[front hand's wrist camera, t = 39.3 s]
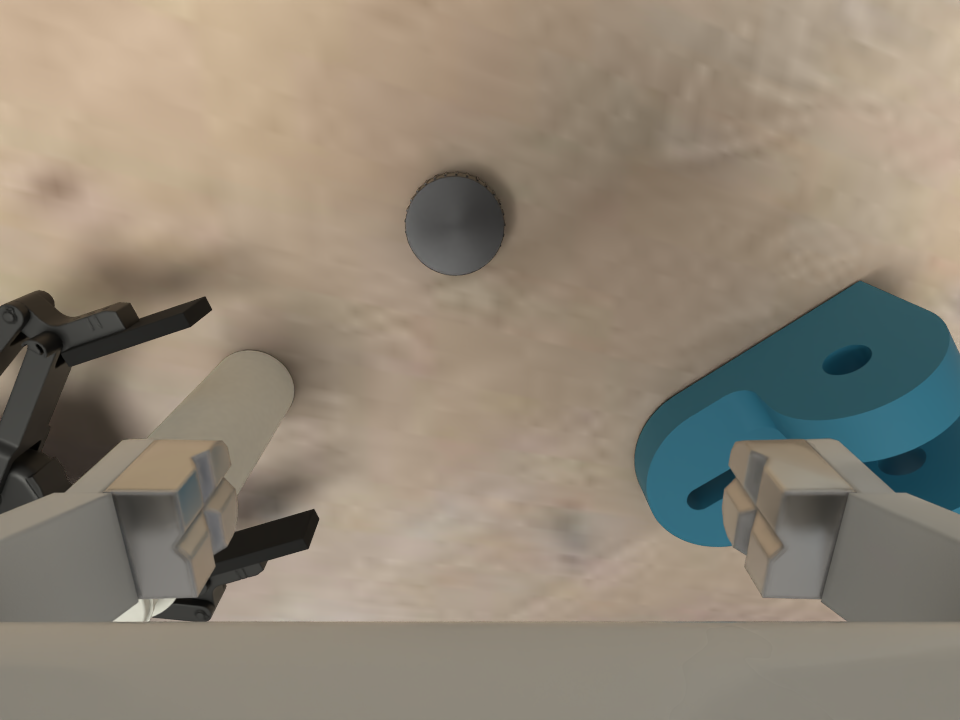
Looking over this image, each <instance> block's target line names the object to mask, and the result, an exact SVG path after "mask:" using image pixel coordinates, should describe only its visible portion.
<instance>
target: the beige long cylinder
mask: <svg viewBox="0 0 960 720" xmlns="http://www.w3.org/2000/svg"><path fill="white" fill-rule="evenodd" d="M293 399H294V384H293V380H292V378H291V375H290V374H289V372H288V370H287V369H286V368H285V366H284V365H283V364H282V363H281V362H279V361H278V360H277V359H275V358H274V357H272V356H270V355H268V354H266V353H263V352H259V351H252V350H245V351H239V352H235V353H233V354H231V355H229V356H227V357H226V358H225V359H224V360H222V361H221V362H220V364H219V365H218V366H217V367H216V368H215V369H214V370H213V371H212V372H211V373H210V374H209V375H208V376H207V377H206V378H205V379H204V380H203V381H202V382H201V383H200V384H199V385H198V386H197V387H196V388H195V389H194V390H193V391H192V392H191V393H190V394H189V395H188V396H187V397H186V398H185V399H184V401H183V402H182V403H181V404H180V405H179V406H178V407H177V408H176V409H175V410H174V411H173V412H172V413H171V414H170V415H169V416H168V417H167V418H166V419H165V420H164V421H163V422H162V423H161V424H160V425H159V426H158V427H157V428H156V429H155V430H154V431H153V432H152V433H151V434H150V435H149V436H148V438H147V439H153V438H157V439H182V440H222V441H223V442H224V443H225V444H226V445H227V446H228V450H229V454H230V459H231V464H232V465H231V467H230V469H229V470H228V472H227V473H226V475H225V476H224V477H225V478H226V480H227V481H228V482H229V483H230V484H231V485H232V486H233V487H234V488H235V489H236V494H237V495H238V494H239V492H240V490H241V489H242V487H243V485H244V484H245V482H246V480H247V479H248V477H249V475H250V473H251V472H252V470H253V468H254V467H255V465H256V463H257V462H258V460H259V458H260V457H261V455H262V453H263V452H264V450H265V448H266V447H267V445H268V443H269V442H270V440H271V438H272V437H273V435H274V433H275V431H276V430H277V428H278V426H279V425H280V423H281V421H282V420H283V418H284V416H285V415H286V413H287V411H288V410H289V408H290V406H291V404H292V402H293ZM175 599H176V598H165V599H138V600H139V602H138V603H137V604H136V605H134V606H133V607H132V608H130V609H129V610H127V611H126V612H125V613H123V614H122V615H121V616H119V617H118V618H117V619H115V620H114V621H113V622H149V621H150V619H151V617H153V616H156V615H157V614H159V613H161V612H163V611H164V610H166V609H167V608H168V607H169V606H170V605H171V604H172V603H173V602H174V601H175Z"/></svg>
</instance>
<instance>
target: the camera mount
mask: <svg viewBox="0 0 960 720" xmlns="http://www.w3.org/2000/svg"><path fill="white" fill-rule="evenodd" d="M825 438H831V439H834V440H838V441H839V442H840V443H841V444H843V445H844V446H845V447H846V448H847V449H848V450H849V451H850V452H851V453H852V454H854V455H855V456H856V457H857V458H858V459H859V460H860V461H861V462H862V463H863V464H865V465H866V466H867V467H868V468H869V469H870V470H871V471H872V472H873V473H874V474H876V475H877V476H878V477H879V478H880V479H881V480H882V481H883V482H884V483H885V484H887V485H888V486H889V487H890V488H891V489H892V490H893V491H894V492H895V493H908V494H910V495H913V496H915V497H918V498H920V499H923V500H925V501H928V502H930V503H933V504H935V505H938V506H940V507H943V508H945V509H948V510H950V511H953V512H955V513H958V514H960V353H959V351H958V349H957V347H956V345H955V343H954V341H953V338H952V336H951V334H950V332H949V330H948V328H947V326H946V324H945V323H944V321H943V320H942V319H941V318H940V317H938V316H937V315H936V314H934V313H932V312H930V311H928V310H926V309H924V308H921V307H919V306H917V305H914V304H912V303H910V302H908V301H905V300H903V299H901V298H899V297H896V296H894V295H892V294H889V293H887V292H885V291H883V290H880V289H878V288H876V287H873V286H871V285H869V284H867V283H864V282H862V281H859V282H857V283H855V284H854V285H852V286H851V287H849V288H847V289H846V290H844V291H843V292H841V293H839V294H838V295H836V296H834V297H833V298H831V299H830V300H828V301H826V302H825V303H823V304H822V305H820V306H818V307H817V308H815V309H814V310H812V311H810V312H809V313H807V314H805V315H804V316H802V317H801V318H799V319H797V320H796V321H794V322H793V323H791V324H789V325H788V326H786V327H785V328H783V329H781V330H780V331H778V332H776V333H775V334H773V335H772V336H770V337H768V338H767V339H765V340H764V341H762V342H760V343H759V344H757V345H756V346H754V347H752V348H751V349H749V350H747V351H746V352H744V353H743V354H741V355H739V356H738V357H736V358H735V359H733V360H731V361H730V362H728V363H727V364H725V365H723V366H722V367H720V368H718V369H717V370H715V371H714V372H712V373H710V374H709V375H707V376H706V377H704V378H702V379H701V380H699V381H698V382H696V383H694V384H693V385H691V386H689V387H688V388H686V389H685V390H683V391H681V392H680V393H678V394H677V395H675V396H673V397H672V398H671V399H669V400H668V401H666V402H665V403H664V404H663V405H662V406H661V407H660V408H659V409H658V410H657V411H656V412H655V413H654V414H653V415H652V416H651V418H650V419H649V420H648V422H647V423H646V425H645V426H644V428H643V430H642V432H641V434H640V436H639V439H638V442H637V446H636V450H635V471H636V476H637V479H638V482H639V484H640V487H641V489H642V491H643V493H644V495H645V497H646V500H647V502H648V504H649V506H650V508H651V511H652V513H653V515H654V516H655V518H656V520H657V521H658V522H659V523H660V524H661V525H662V526H663V527H664V528H665V529H666V530H667V531H668V532H670V533H671V534H673V535H674V536H676V537H678V538H680V539H682V540H684V541H687V542H690V543H693V544H697V545H702V546H710V547H726V546H732V544H731V542H730V541H729V539H728V537H727V534H726V531H725V528H724V525H723V515H722V502H723V495H724V489H725V488H726V487H727V486H728V485H729V484H730V483H731V482H732V481H733V480H734V478H735V477H736V476H735V475H734V473H733V472H732V470H731V469H730V467H729V465H728V464H729V459H730V453H731V450H732V448H733V445H734V443H735V442H737V441H743V440H782V439H825Z"/></svg>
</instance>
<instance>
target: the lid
mask: <svg viewBox="0 0 960 720" xmlns="http://www.w3.org/2000/svg"><path fill="white" fill-rule="evenodd" d="M416 192H417V193H416V195H415V197H414V196H413V197H412V198H411V200H410V201H411V203H410V206H409V207H408V208H407V210H406V211H407V215H406V219H405V222H406V226H405V228H406V231H405V233H406V235H407V239H408V243H409V245H410V247H411V249H412V251H413V253H414V254H415V255H416V257H417V258H418V259H419V260H420V261H421V262H422V263H423V264H424V265H426V266H427V267H428V268H430V269H432V270H434V271H436V272H438V273H442V274H446V275H454V276H457V275H465V274H469V273H472V272H475V271H477V270H479V269H481V268H482V267H484V266H485V265H486V264H487V263H489V262H490V261H491V259H492V258H493V257H494V256H495V255H496V253H497V251H498V249H499V247H500V246H501V242H502V240H503V237H504V226H505V222H504V218H503V215H504V212H503V209H502V210H501V207H500V205H501V203H500V200H499V199H498V200H497V198H496V196H495V192H494V190H493V191H492V190H491V189H490V188H489V187H488V185H487V183H484V182H482V181H481V180H479V178H478V177H476V178H475V177H473V176H471V175H468V173H466V174H463V173H458V171H456V173H447V172H445V174H442V175H439V176H437V175H435V177H434V178H433V179H431V180H429V181H428V180H427V181H426V182H425V183H424V185H423V186H422V187H421V188H420V187H419V188H418V190H417V191H416Z"/></svg>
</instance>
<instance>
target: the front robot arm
mask: <svg viewBox="0 0 960 720" xmlns="http://www.w3.org/2000/svg"><path fill="white" fill-rule="evenodd" d="M231 465H232V464H231V459H230V454H229V450H228V446H227V445H226V444H225V443H224V442H223V441H222V440H182V439H157V438H153V439H128V440H122V441H121V442H120V443H119V444H118V445H117V446H115V447H114V448H113V449H112V450H111V451H110V452H109V453H108V454H107V455H105V456H104V457H103V458H102V459H101V460H100V461H99V462H98V463H97V464H96V465H94V466H93V467H92V468H91V469H90V470H89V471H88V472H87V473H86V474H85V475H83V476H82V477H81V478H80V479H79V480H78V481H77V482H76V483H75V484H74V485H72V486H71V487H70V488H69V489H68V490H67V491H66V492H65V493H52V494H50V495H47V496H45V497H42V498H40V499H37V500H35V501H32V502H30V503H27V504H25V505H22V506H20V507H17V508H15V509H12V510H10V511H7V512H5V513H2V514H0V720H960V514H958V513H955V512H953V511H950V510H948V509H945V508H943V507H940V506H938V505H935V504H933V503H930V502H928V501H925V500H923V499H920V498H918V497H915V496H913V495H910V494H908V493H895V492H894V491H893V490H892V489H891V488H890V487H889V486H888V485H887V484H885V483H884V482H883V481H882V480H881V479H880V478H879V477H878V476H877V475H876V474H874V473H873V472H872V471H871V470H870V469H869V468H868V467H867V466H866V465H865V464H863V463H862V462H861V461H860V460H859V459H858V458H857V457H856V456H855V455H854V454H852V453H851V452H850V451H849V450H848V449H847V448H846V447H845V446H844V445H843V444H841V443H840V442H839V441H838V440H834V439H831V438H825V439H782V440H743V441H737V442H735V443H734V445H733V448H732V450H731V453H730V459H729V464H728V465H729V467H730V469H731V470H732V472H733V473H734V475H735V476H736V477H735V478H734V480H733V481H732V482H731V483H730V484H729V485H728V486H727V487H726V488H725V489H724V495H723V502H722V515H723V525H724V528H725V531H726V534H727V537H728V539H729V541H730V542H731V544H732V546H733V547H734V548H735V549H737V550H739V551H740V552H742V553H743V554H745V555H747V556H746V561H745V568H746V570H747V572H748V573H749V575H750V577H751V579H752V580H753V582H754V584H755V585H756V587H757V589H758V590H759V592H760V594H761V595H762V597H763V598H794V599H822V600H821V602H822V603H823V604H825V605H826V606H827V607H829V608H830V609H831V610H833V611H834V612H835V613H837V614H838V615H839V616H841V617H842V618H844V619H845V620H846V621H848V622H113V621H114V620H115V619H117V618H118V617H119V616H121V615H122V614H123V613H125V612H126V611H127V610H129V609H130V608H132V607H133V606H134V605H136V604H137V603H138V602H139V600H138V599H165V598H197V597H198V596H199V594H200V592H201V591H202V589H203V587H204V585H205V584H206V582H207V580H208V579H209V577H210V575H211V574H212V572H213V570H214V568H215V561H214V556H213V555H215V554H217V553H218V552H220V551H221V550H223V549H225V548H226V547H227V546H228V544H229V542H230V540H231V539H232V537H233V535H234V531H235V527H236V523H237V518H238V500H237V494H236V489H235V488H234V487H233V486H232V485H231V484H230V483H229V482H228V481H227V480H226V478H225V477H224V476H225V475H226V473H227V472H228V470H229V469H230V467H231Z"/></svg>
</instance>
